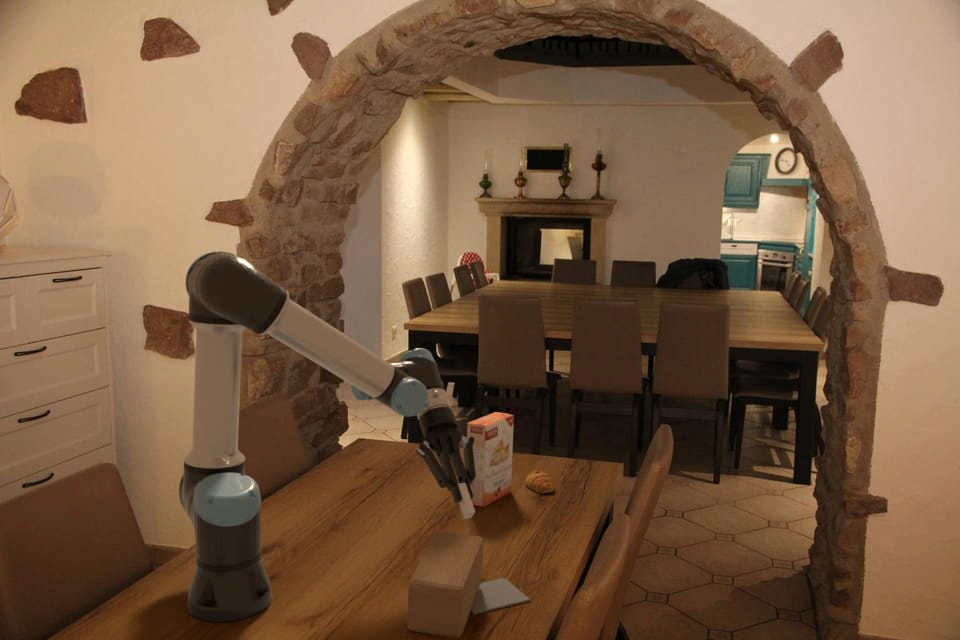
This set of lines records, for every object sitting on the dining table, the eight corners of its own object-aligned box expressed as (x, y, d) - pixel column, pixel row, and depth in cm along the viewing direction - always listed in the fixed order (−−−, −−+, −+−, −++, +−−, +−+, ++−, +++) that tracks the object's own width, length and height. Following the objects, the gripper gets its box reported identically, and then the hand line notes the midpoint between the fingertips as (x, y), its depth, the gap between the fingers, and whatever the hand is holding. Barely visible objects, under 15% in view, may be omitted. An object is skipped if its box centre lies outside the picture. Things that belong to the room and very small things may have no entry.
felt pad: (473, 614, 156) (473, 612, 156) (450, 591, 165) (450, 589, 165) (529, 601, 162) (529, 599, 162) (504, 579, 171) (504, 577, 171)
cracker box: (484, 508, 209) (486, 426, 206) (464, 503, 212) (465, 422, 209) (513, 492, 220) (514, 413, 217) (493, 487, 224) (494, 410, 220)
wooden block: (482, 581, 167) (461, 641, 148) (433, 574, 169) (405, 632, 150) (485, 535, 165) (463, 589, 146) (434, 528, 166) (406, 581, 147)
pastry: (560, 493, 221) (561, 479, 220) (537, 496, 218) (537, 482, 218) (545, 482, 229) (545, 468, 229) (522, 485, 227) (522, 471, 226)
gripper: (412, 408, 176) (446, 512, 164) (468, 402, 182) (505, 502, 170) (402, 426, 181) (434, 529, 169) (456, 420, 187) (491, 518, 175)
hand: (469, 515), depth 170 cm, fingers closed
